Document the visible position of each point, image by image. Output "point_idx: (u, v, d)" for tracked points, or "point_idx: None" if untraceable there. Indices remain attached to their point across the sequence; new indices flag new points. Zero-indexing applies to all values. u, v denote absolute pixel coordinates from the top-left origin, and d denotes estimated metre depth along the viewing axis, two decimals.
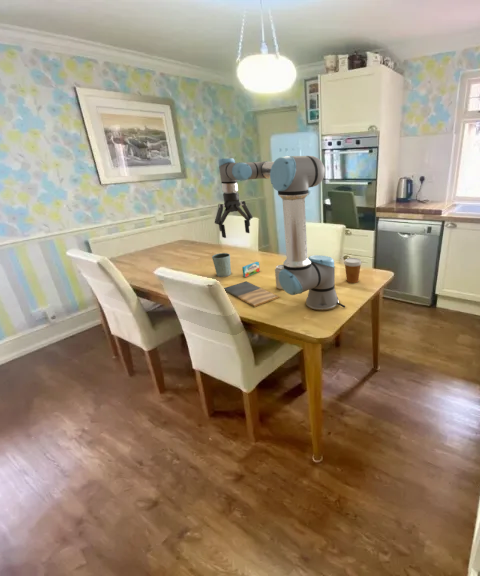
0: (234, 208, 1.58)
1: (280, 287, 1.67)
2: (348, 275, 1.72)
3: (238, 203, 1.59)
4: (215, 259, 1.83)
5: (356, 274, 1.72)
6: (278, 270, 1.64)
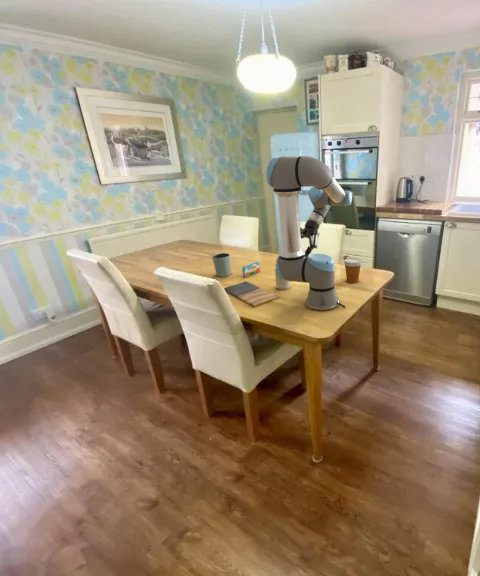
0: (306, 233, 1.73)
1: (280, 287, 1.67)
2: (348, 275, 1.72)
3: (311, 230, 1.71)
4: (215, 259, 1.83)
5: (356, 274, 1.72)
6: None
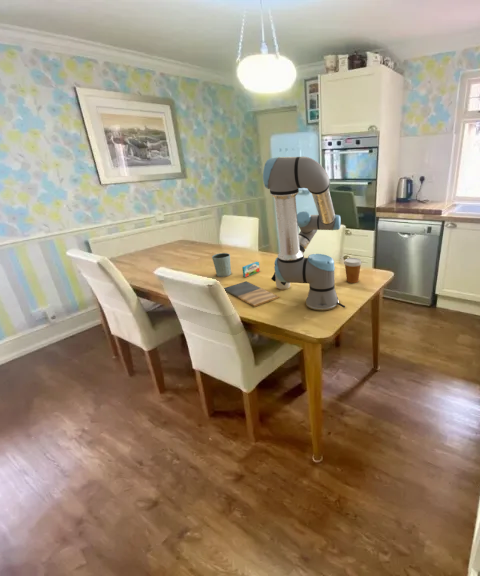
0: None
1: (280, 287, 1.67)
2: (348, 275, 1.72)
3: None
4: (215, 259, 1.83)
5: (356, 274, 1.72)
6: None
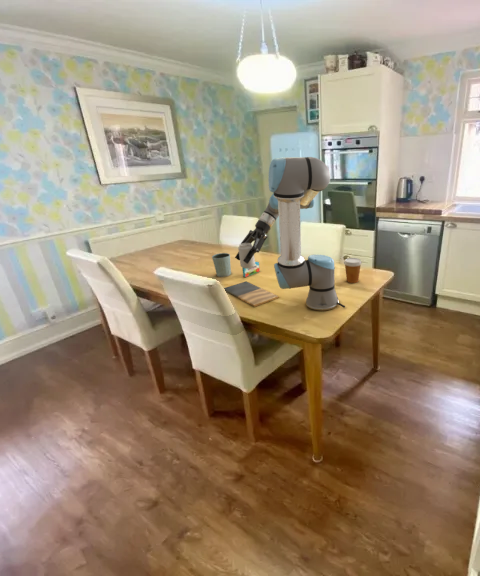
0: (255, 234, 1.63)
1: (244, 266, 1.61)
2: (348, 275, 1.72)
3: (261, 232, 1.61)
4: (215, 259, 1.83)
5: (356, 274, 1.72)
6: (241, 248, 1.58)
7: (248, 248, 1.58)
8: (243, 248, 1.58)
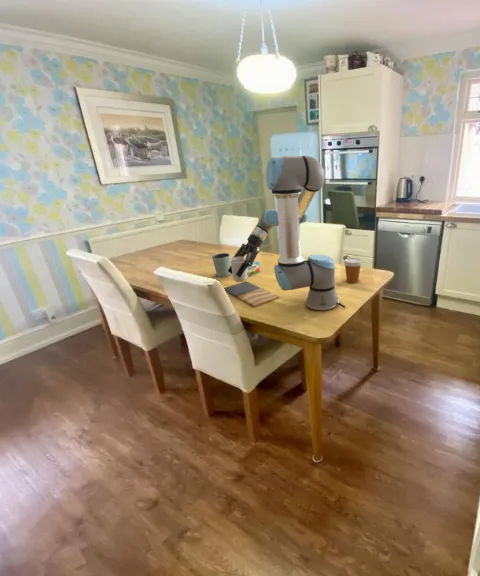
0: (248, 248, 1.65)
1: (236, 279, 1.63)
2: (348, 275, 1.72)
3: (253, 246, 1.63)
4: (215, 259, 1.83)
5: (356, 274, 1.72)
6: (233, 262, 1.60)
7: (241, 262, 1.60)
8: (235, 262, 1.60)
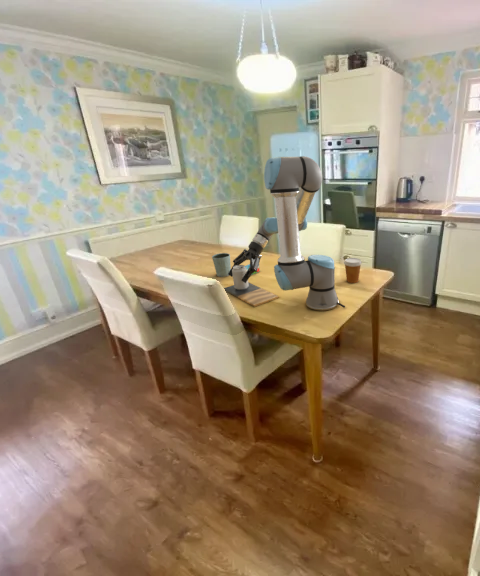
0: (249, 255, 1.66)
1: (237, 287, 1.65)
2: (348, 275, 1.72)
3: (254, 253, 1.65)
4: (215, 259, 1.83)
5: (356, 274, 1.72)
6: (234, 270, 1.62)
7: (242, 271, 1.62)
8: (237, 271, 1.62)
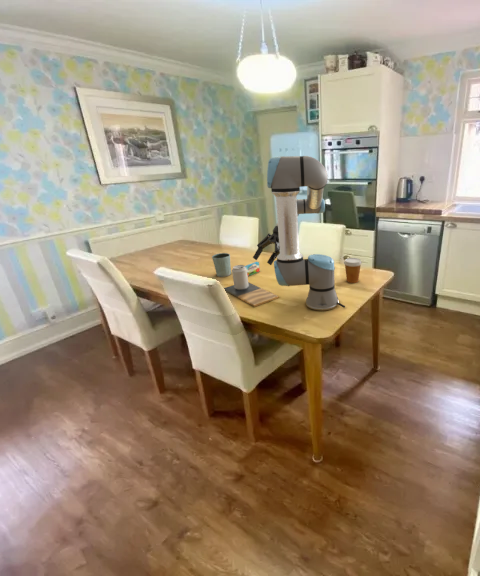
0: (273, 239, 1.73)
1: (237, 287, 1.65)
2: (348, 275, 1.72)
3: (278, 237, 1.72)
4: (215, 259, 1.83)
5: (356, 274, 1.72)
6: (234, 270, 1.62)
7: (242, 271, 1.62)
8: (237, 271, 1.62)
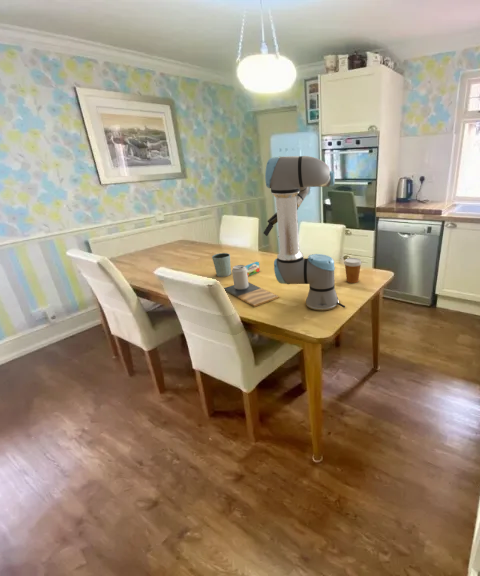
0: None
1: (237, 287, 1.65)
2: (348, 275, 1.72)
3: None
4: (215, 259, 1.83)
5: (356, 274, 1.72)
6: (234, 270, 1.62)
7: (242, 271, 1.62)
8: (237, 271, 1.62)
